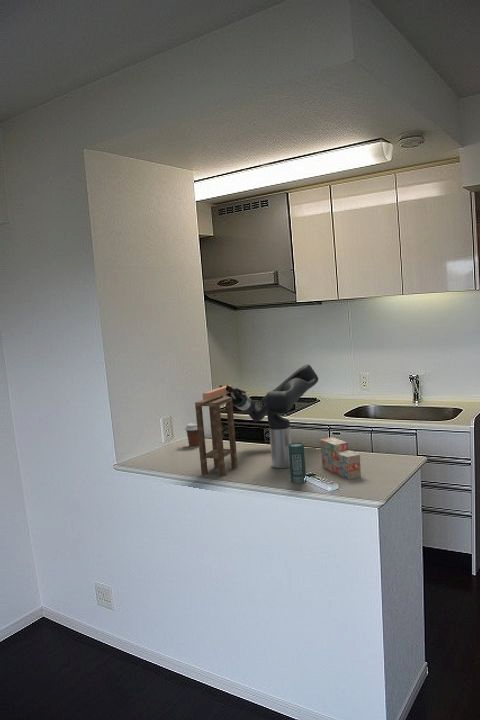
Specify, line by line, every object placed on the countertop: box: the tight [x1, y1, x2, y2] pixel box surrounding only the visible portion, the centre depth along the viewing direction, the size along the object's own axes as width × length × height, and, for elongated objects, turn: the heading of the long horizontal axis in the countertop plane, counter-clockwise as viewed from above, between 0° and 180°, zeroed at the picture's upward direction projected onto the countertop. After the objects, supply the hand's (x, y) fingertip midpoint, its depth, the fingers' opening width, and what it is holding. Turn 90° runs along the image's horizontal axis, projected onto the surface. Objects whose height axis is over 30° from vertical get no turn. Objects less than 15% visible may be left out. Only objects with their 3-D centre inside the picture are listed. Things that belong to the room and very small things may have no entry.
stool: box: [194, 396, 239, 477], centre depth 248 cm, size 11×13×32 cm
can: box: [288, 442, 307, 484], centre depth 227 cm, size 6×6×15 cm
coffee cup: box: [184, 422, 199, 449], centre depth 296 cm, size 9×9×12 cm
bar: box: [202, 384, 233, 400], centre depth 250 cm, size 21×3×3 cm, turn 152°
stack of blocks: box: [319, 436, 362, 480], centre depth 235 cm, size 21×6×12 cm, turn 21°
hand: (223, 387), depth 254 cm, fingers closed on bar, 3 cm apart
